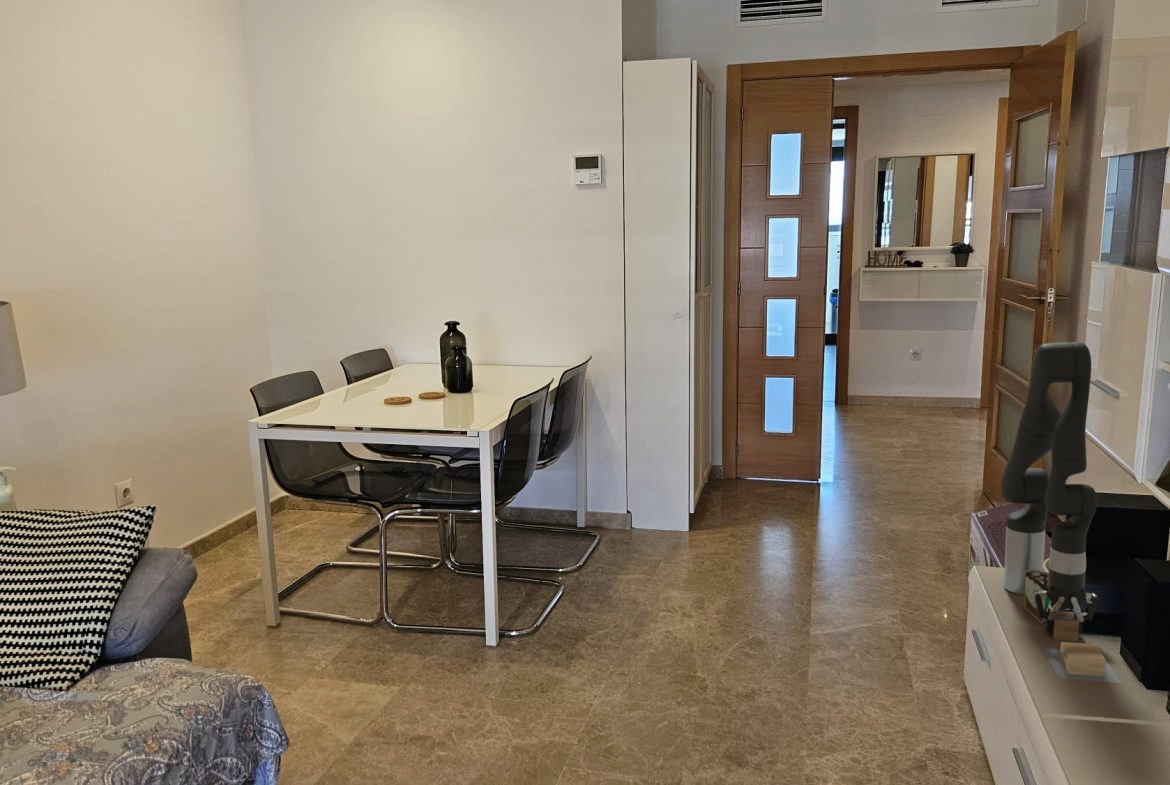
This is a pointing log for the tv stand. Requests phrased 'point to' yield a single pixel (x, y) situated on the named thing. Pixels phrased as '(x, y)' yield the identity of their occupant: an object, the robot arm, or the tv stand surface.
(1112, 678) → the build board
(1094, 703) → the tv stand surface
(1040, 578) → the food container
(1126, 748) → the tv stand surface
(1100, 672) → the oak base block
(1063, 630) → the walnut cube
